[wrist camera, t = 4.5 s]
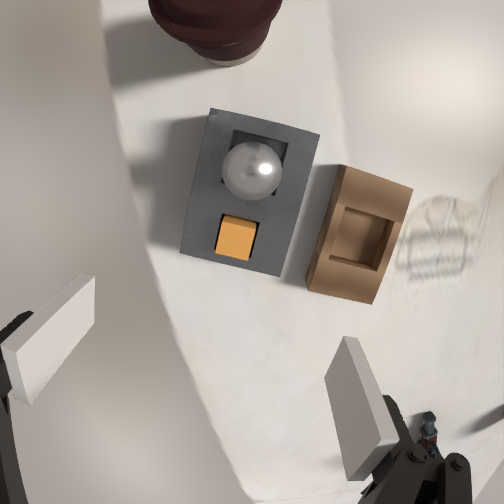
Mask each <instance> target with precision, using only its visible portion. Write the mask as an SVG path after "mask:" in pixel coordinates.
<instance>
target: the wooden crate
mask: <svg viewBox="0 0 504 504" xmlns="http://www.w3.org/2000/svg"><path fill="white" fill-rule="evenodd" d="M412 192H413V189H411V188H409V187H406V186H403V185H400V184H398V183H395V182H392V181H390V180H387V179H384V178H381V177H378V176H376V175H372V174H370V173H367V172H364V171H361V170H358V169H355V168H352V167H348V166H345V165H341V164H340V166H339V170H338V174H337V177H336V181H335V184H334V188H333V191H332V195H331V198H330V202H329V205H328V208H327V212H326V215H325V218H324V222H323V225H322V228H321V231H320V235H319V238H318V241H317V244H316V247H315V251H314V254H313V257H312V260H311V263H310V266H309V269H308V272H307V275H306V278H305V281H306V285H307V288H308V291H312V292H316V293H321V294H325V295H330V296H334V297H339V298H343V299H348V300H353V301H357V302H362V303H367V304H371V305H372V303H373V301H374V299H375V296H376V294H377V291H378V289H379V286H380V284H381V281H382V279H383V276H384V274H385V271H386V268H387V266H388V263H389V261H390V258H391V255H392V252H393V250H394V247H395V244H396V241H397V238H398V236H399V233H400V230H401V227H402V224H403V221H404V218H405V215H406V211H407V208H408V205H409V202H410V199H411V195H412Z"/></svg>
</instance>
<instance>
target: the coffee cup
mask: <svg viewBox="0 0 504 504" xmlns="http://www.w3.org/2000/svg"><path fill="white" fill-rule="evenodd" d="M148 3H149V8H150V11H151V14H152V16H153V18H154V19H155V20H156V22H157V23H158V24H159V25H160V26H161V27H162V28H163V30H164V31H165V32H167V33H168V34H169V35H170V36H172V37H174V38H175V39H177V40H179V41H181V42H184V43H186V44H187V45H189V46H190V47H191V48H192V49H193V50H194V51H195V52H197V53H198V54H199V55H201V56H203V57H205V58H206V59H207V60H209V61H210V62H212V63H215V64H218V65H222V66H235V65H239V64H242V63H245V62H247V61H249V60H250V59H252V58H253V57H254V56H255V55H256V54H257V53H258V52H259V51H260V49H261V47H262V45H263V42H264V40H265V39H266V37H267V34H268V31H269V28H270V25H271V21H272V20H273V19H274V18H275V16H276V14H277V13H278V11H279V9H280V7H281V4H282V0H148Z"/></svg>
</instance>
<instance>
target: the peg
mask: <svg viewBox="0 0 504 504" xmlns="http://www.w3.org/2000/svg"><path fill="white" fill-rule="evenodd" d="M222 176H223V180H224V182H225V184H226V186H227V188H228V189H229V190H230V191H231V192H232V193H233V194H234V195H236V196H237V197H239V198H242V199H245V200H259V199H262V198H265V197H267V196H268V195H270V194H271V193H272V192H273V191H274V190H275V189H276V188H277V186H278V185H279V183H280V180H281V176H282V166H281V162H280V159H279V157H278V156H277V154H276V153H275V152H274V151H273V150H272V149H271V148H270V147H268V146H267V145H265V144H262V143H259V142H245V143H242V144H239V145H237V146H236V147H234V148H233V149H232V150H231V151H230V152H229V153H228V154H227V156H226V157H225V160H224V162H223V167H222Z"/></svg>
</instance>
